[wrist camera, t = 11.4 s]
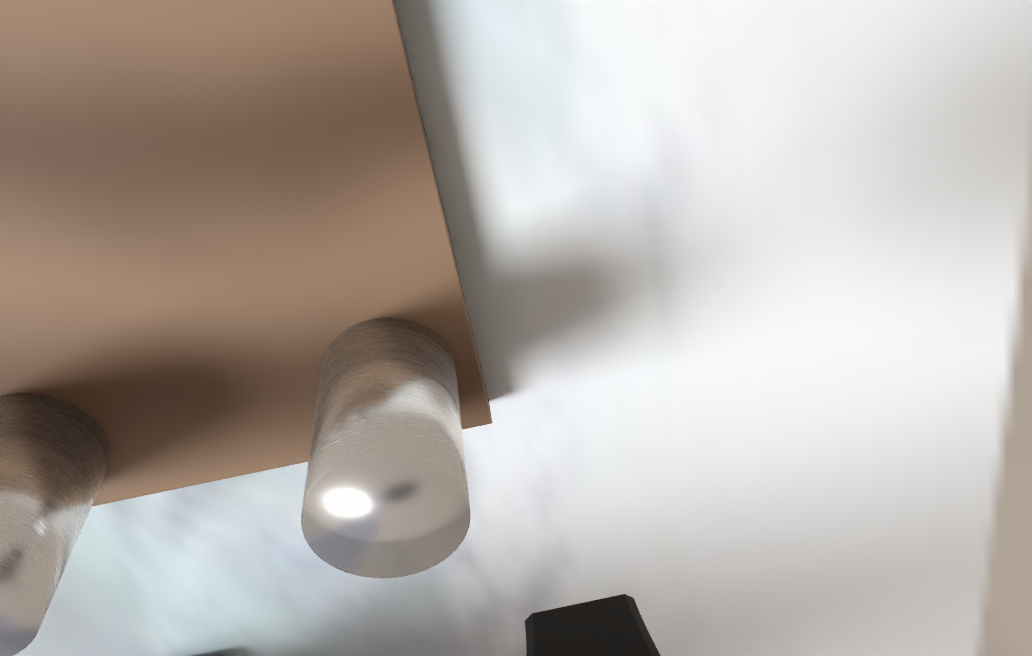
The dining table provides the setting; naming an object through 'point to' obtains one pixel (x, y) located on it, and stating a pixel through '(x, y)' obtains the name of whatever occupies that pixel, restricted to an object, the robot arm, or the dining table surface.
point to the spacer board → (211, 221)
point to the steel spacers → (329, 483)
